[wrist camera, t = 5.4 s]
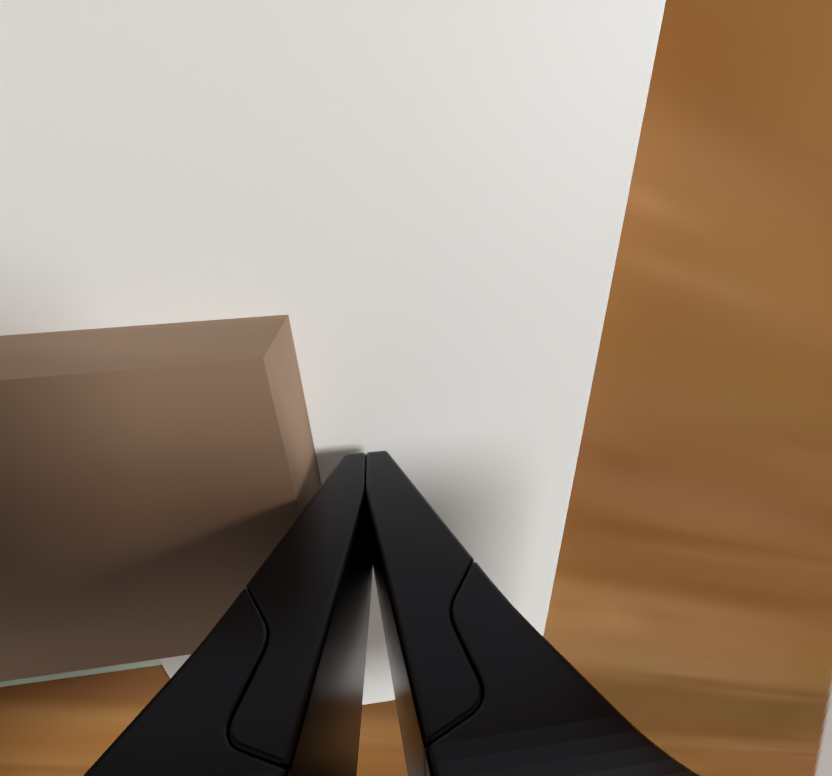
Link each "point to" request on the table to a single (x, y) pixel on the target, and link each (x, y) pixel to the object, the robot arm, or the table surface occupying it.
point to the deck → (347, 221)
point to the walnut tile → (142, 485)
